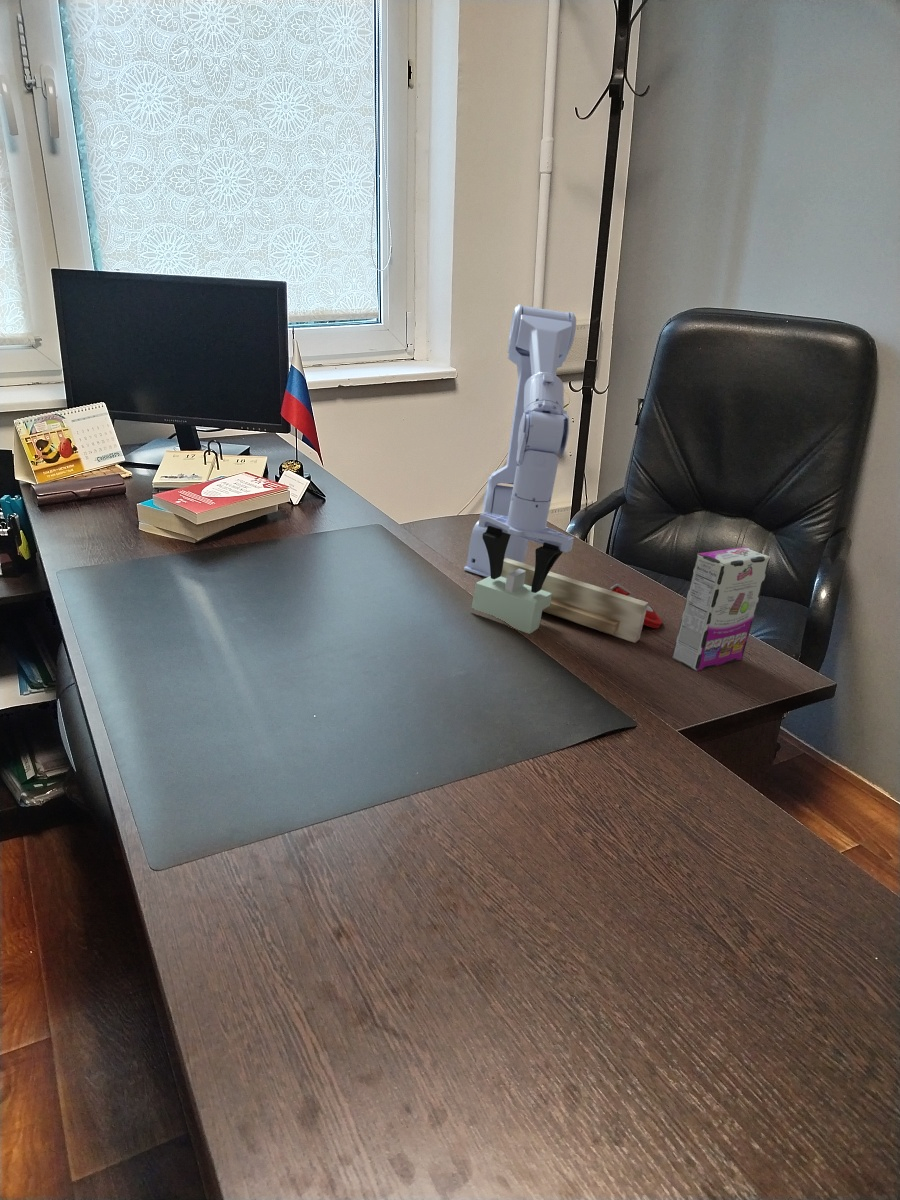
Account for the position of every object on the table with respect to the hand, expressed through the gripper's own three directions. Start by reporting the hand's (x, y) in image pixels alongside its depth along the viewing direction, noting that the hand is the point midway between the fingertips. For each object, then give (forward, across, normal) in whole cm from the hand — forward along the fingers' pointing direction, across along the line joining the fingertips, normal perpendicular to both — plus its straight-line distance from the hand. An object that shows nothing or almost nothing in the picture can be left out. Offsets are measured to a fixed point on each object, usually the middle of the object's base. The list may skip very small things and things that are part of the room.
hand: (515, 584), depth 125 cm
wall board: (+5, +6, +8) cm, 11 cm away
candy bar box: (+6, +28, +10) cm, 30 cm away
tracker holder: (+6, +14, +17) cm, 23 cm away
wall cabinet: (+6, 0, 0) cm, 6 cm away
